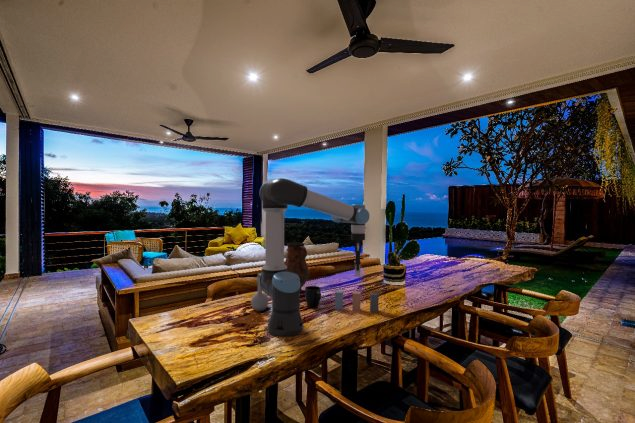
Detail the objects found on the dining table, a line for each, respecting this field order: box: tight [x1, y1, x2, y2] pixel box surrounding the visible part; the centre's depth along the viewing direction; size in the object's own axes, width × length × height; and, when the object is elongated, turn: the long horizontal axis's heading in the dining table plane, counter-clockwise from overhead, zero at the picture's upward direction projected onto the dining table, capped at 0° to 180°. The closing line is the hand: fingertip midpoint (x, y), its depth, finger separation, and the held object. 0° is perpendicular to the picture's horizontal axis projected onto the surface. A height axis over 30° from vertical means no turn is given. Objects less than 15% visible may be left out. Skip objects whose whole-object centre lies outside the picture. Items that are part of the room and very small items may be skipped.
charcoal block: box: [369, 291, 380, 314], centre depth 151 cm, size 4×4×9 cm
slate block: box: [334, 289, 344, 311], centre depth 153 cm, size 4×4×9 cm
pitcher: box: [284, 242, 310, 295], centre depth 180 cm, size 17×21×30 cm
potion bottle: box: [250, 272, 269, 312], centre depth 152 cm, size 9×9×18 cm
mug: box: [304, 285, 322, 308], centre depth 156 cm, size 8×12×10 cm
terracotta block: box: [351, 290, 362, 312], centre depth 152 cm, size 4×4×9 cm
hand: (357, 276), depth 161 cm, fingers closed
